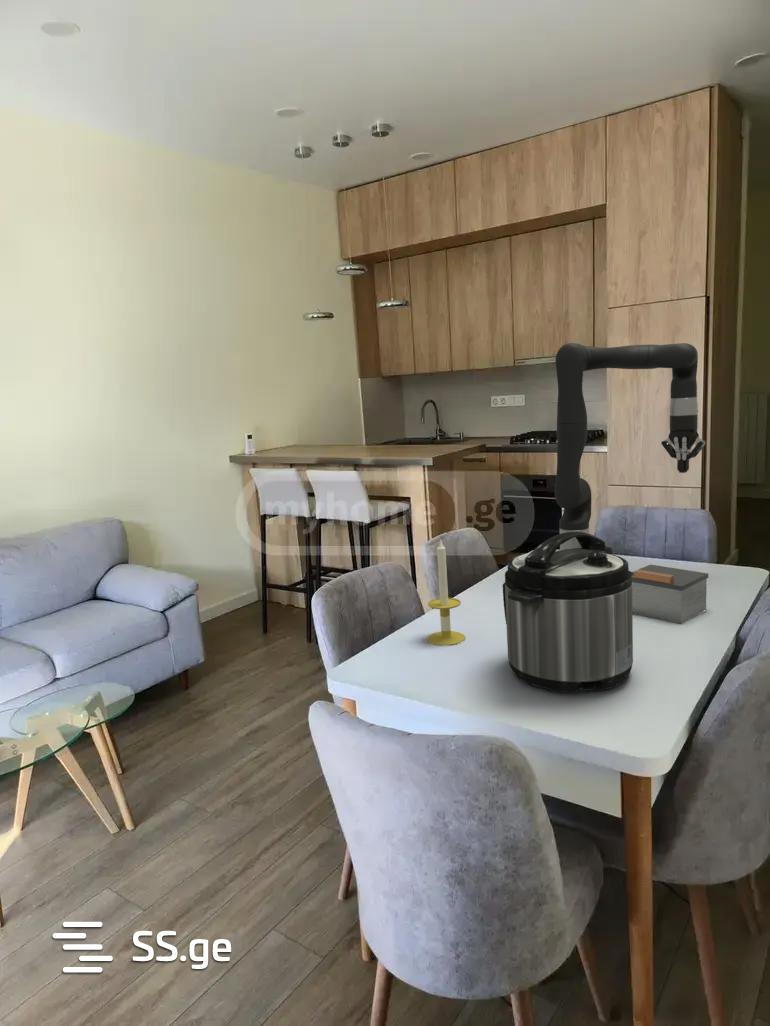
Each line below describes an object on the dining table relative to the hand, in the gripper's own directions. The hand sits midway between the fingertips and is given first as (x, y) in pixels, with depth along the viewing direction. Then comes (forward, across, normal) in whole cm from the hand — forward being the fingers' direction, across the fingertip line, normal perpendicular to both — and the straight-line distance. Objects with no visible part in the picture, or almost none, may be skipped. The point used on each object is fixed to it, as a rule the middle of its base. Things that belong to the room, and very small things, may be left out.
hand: (683, 472), depth 199 cm
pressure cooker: (+35, +10, -74) cm, 83 cm away
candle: (+35, -25, -77) cm, 88 cm away
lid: (+26, +7, -24) cm, 36 cm away
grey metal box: (+35, +7, -24) cm, 43 cm away
